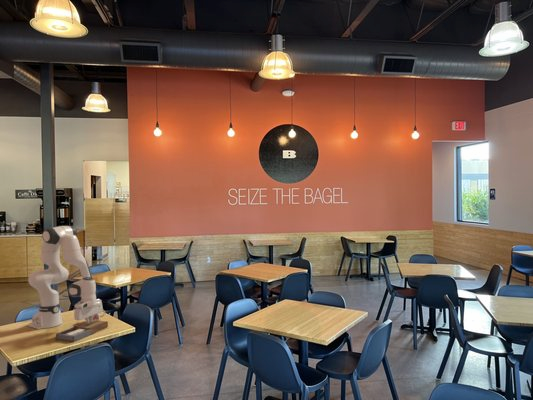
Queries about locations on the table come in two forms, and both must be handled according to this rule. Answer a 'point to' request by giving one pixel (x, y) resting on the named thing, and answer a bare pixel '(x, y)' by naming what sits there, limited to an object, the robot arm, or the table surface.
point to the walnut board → (92, 326)
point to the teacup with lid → (97, 316)
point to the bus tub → (72, 338)
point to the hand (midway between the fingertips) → (89, 322)
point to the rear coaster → (79, 330)
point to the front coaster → (72, 333)
